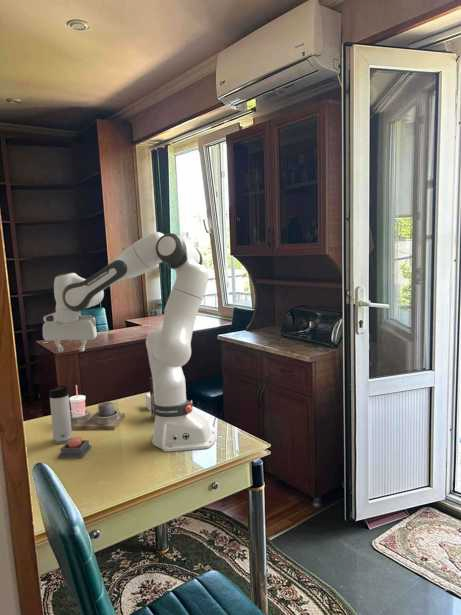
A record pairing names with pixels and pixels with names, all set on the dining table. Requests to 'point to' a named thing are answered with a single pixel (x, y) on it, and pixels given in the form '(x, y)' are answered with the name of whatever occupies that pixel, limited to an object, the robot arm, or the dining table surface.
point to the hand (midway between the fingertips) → (71, 351)
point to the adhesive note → (148, 401)
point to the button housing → (75, 450)
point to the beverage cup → (77, 404)
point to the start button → (74, 442)
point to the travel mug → (60, 414)
